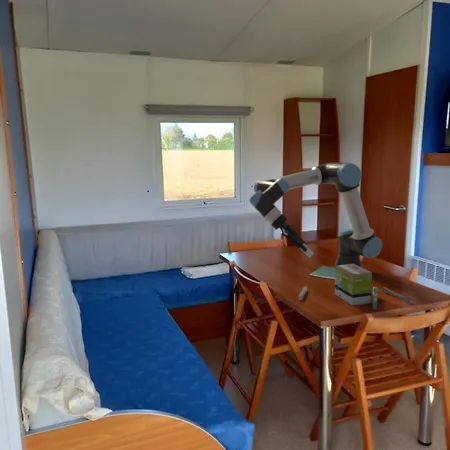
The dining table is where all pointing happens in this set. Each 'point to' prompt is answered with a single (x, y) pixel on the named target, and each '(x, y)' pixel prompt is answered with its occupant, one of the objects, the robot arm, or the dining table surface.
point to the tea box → (353, 284)
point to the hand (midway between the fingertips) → (311, 255)
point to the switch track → (374, 305)
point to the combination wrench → (398, 295)
